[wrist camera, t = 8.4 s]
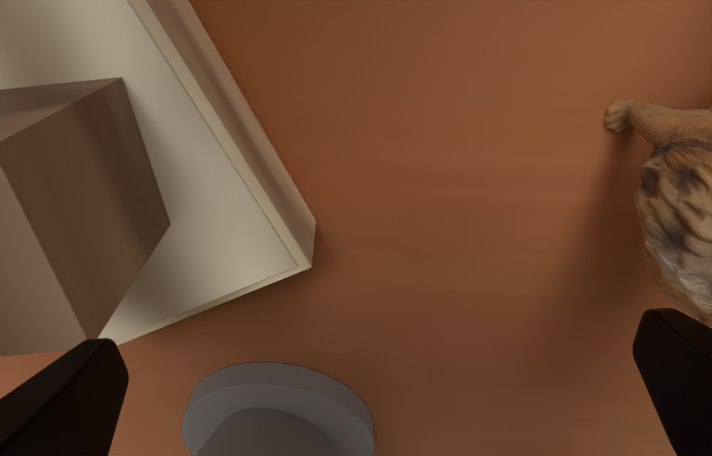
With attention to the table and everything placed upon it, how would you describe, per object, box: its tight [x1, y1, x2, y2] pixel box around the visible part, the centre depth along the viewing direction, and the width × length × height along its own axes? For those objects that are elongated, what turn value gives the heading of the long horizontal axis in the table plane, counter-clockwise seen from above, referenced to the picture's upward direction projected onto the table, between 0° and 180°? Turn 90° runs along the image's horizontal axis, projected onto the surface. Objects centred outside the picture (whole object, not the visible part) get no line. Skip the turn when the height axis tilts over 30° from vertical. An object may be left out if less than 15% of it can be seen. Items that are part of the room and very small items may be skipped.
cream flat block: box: [0, 0, 316, 345], centre depth 17 cm, size 10×14×4 cm
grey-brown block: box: [0, 77, 171, 356], centre depth 13 cm, size 5×5×6 cm
